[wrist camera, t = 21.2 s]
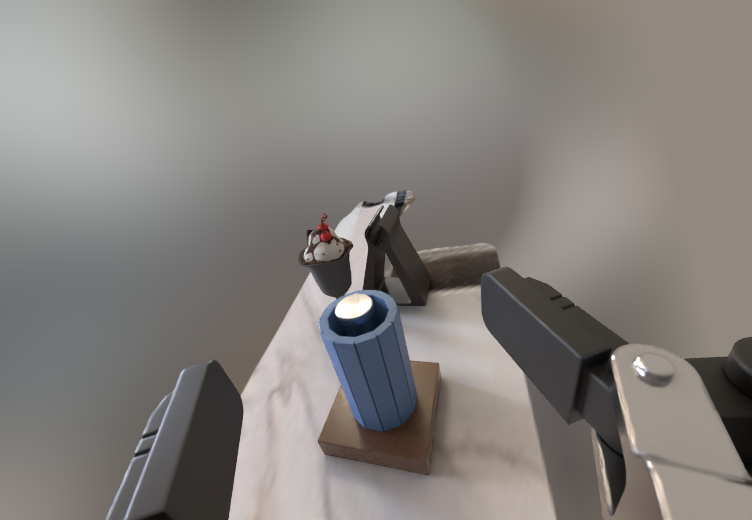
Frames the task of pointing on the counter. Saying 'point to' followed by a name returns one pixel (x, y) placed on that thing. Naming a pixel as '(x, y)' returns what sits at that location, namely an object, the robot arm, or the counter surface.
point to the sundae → (328, 260)
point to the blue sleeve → (372, 365)
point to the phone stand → (394, 261)
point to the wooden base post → (394, 446)
